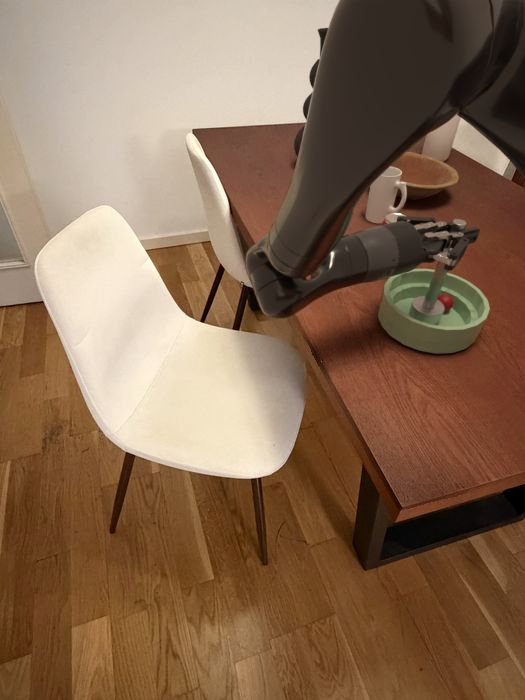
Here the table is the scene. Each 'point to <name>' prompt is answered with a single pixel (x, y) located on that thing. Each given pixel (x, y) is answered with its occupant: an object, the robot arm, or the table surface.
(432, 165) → the bowl
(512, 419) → the table surface
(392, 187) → the mug
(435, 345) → the bowl
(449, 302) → the berry
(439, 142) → the alcohol
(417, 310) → the metal tamper
